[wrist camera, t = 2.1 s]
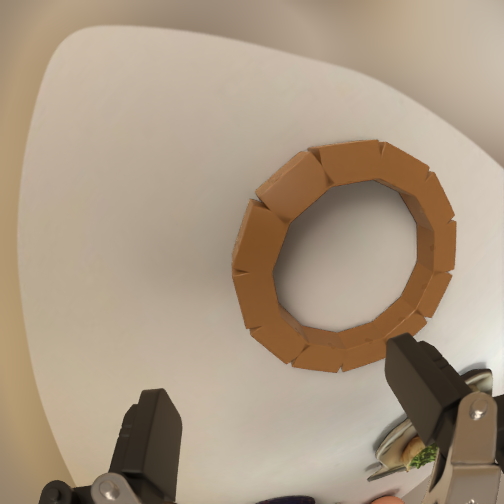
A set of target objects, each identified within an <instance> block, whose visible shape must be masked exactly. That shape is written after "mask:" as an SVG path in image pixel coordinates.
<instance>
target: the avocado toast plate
mask: <svg viewBox="0 0 504 504" xmlns="http://www.w3.org/2000/svg"><path fill="white" fill-rule="evenodd" d="M461 378H462V379H463V380H464V381H465V382H466V384H467V385H468V386H469V387H470V388H471V390H472V391H473V392H483V393H486V394H489V395H490V396H491V397H492V386H493V384H492V383H493V377H492V371H491V370H490V369H479V370H478V369H475V370H471V371H469V372H467V373H465V374H464V375H462V376H461ZM437 450H438V446H437V444H436V443H433V444H431V445H429V446H427V447H425V445H424V444H423V442H422V440H421V438H420V437H419V435H418V433H417V431H416V430H415V428H414V426H413V424H412V423H411V421H410V419H409V418H408V419H406V420H405V421H404V422H403V423H401V424H400V425H399V426H397V427H396V428H395V429H393V430H392V431H391V432H390V433H389V434H388V436H387V437H386V439H385V440H384V441H383V442H382V444H381V445H380V447H379V448H378V450H377V451H376V454H375V456H376V458H377V459H378V460H379V462H381V463H382V468H381V469H380V470H379V471H377V472H376V473H375V474H373V475H371V476H370V477H369V478H368V479H367V480H368V482H370V481H373V480H376V479H379V478H382V477H385V476H387V475H390V474H393V473H395V472H403V471H407V472H408V471H409V470H410V469H413V468H415V467H417V469H419V468H420V466H424V465H425V464H426V463H428V462H432V461H435V458H436V453H437Z"/></svg>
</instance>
